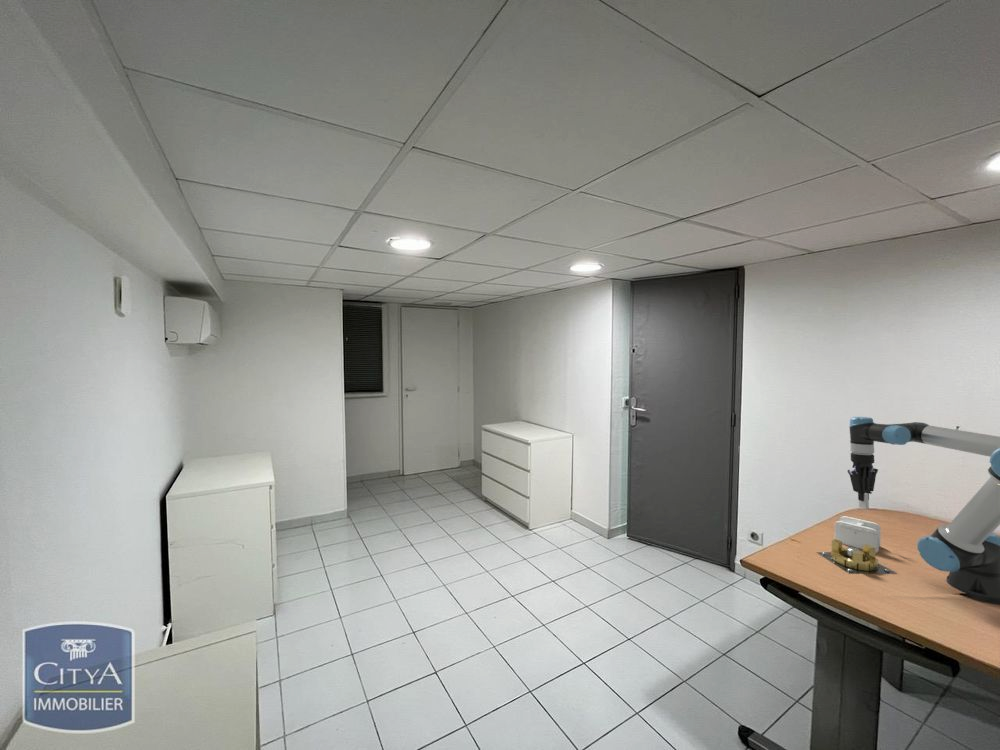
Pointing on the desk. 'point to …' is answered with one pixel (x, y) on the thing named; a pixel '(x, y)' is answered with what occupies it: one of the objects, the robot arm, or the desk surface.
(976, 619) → the desk surface
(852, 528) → the cable organizer
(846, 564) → the ring nut
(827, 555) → the flange
